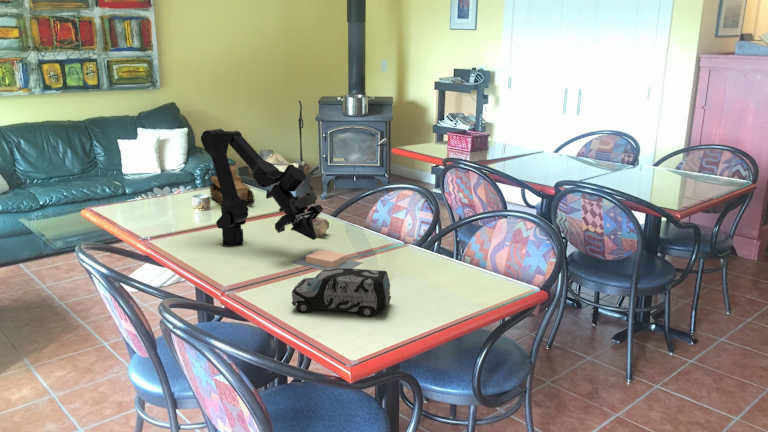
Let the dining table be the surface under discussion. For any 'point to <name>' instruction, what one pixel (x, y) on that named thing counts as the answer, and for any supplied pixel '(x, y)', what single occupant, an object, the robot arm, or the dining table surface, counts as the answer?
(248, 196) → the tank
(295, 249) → the dining table surface
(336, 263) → the block
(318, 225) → the rock
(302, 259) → the mat
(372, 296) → the toy car
